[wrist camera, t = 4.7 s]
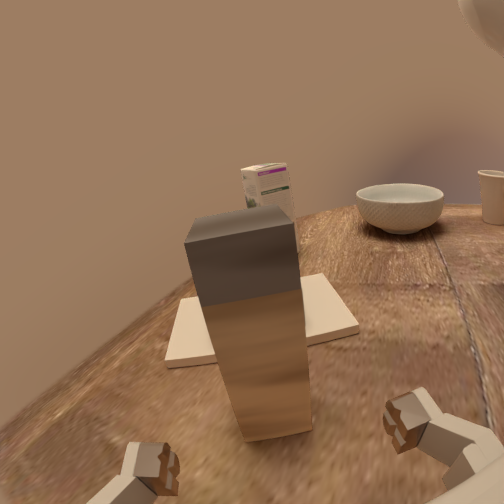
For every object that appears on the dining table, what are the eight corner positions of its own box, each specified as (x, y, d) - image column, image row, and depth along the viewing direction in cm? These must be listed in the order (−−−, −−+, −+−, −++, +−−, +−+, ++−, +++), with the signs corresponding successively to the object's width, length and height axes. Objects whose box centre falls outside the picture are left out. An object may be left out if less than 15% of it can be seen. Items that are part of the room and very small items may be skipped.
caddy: (183, 305, 36) (172, 270, 35) (322, 280, 37) (319, 243, 35) (168, 368, 25) (150, 324, 23) (358, 332, 25) (359, 286, 24)
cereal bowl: (340, 233, 52) (337, 195, 50) (384, 212, 61) (382, 181, 58) (424, 250, 39) (425, 205, 36) (453, 223, 47) (453, 187, 45)
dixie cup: (474, 223, 45) (475, 173, 41) (479, 213, 49) (479, 168, 46) (510, 229, 38) (513, 177, 35) (511, 218, 43) (512, 172, 40)
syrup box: (301, 252, 47) (289, 161, 42) (269, 263, 45) (253, 167, 40) (284, 244, 52) (271, 162, 47) (253, 253, 50) (238, 168, 45)
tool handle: (241, 396, 21) (195, 218, 16) (299, 386, 21) (276, 203, 16) (245, 442, 16) (184, 243, 12) (312, 430, 17) (293, 222, 12)
